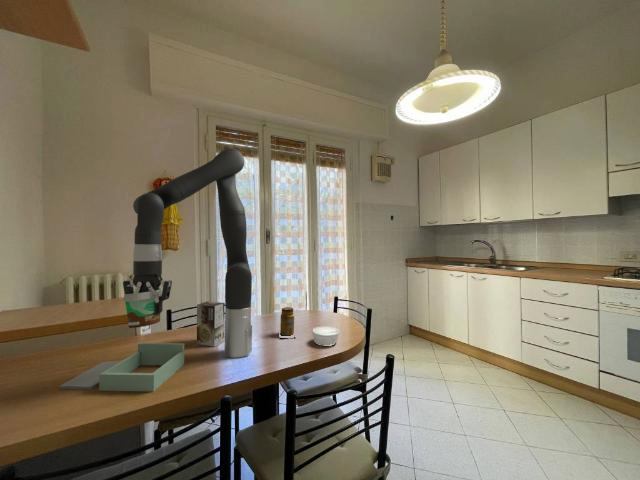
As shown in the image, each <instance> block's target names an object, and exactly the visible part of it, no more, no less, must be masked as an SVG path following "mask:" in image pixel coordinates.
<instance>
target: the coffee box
mask: <svg viewBox="0 0 640 480" xmlns="http://www.w3.org/2000/svg"><path fill="white" fill-rule="evenodd" d="M223 343H225V302H220V301H204V302H201V303H198V304H196V345H202V346H209V347H213V348H214V347H216V346H219V345H221V344H223Z"/></svg>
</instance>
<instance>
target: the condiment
mask: <svg viewBox="0 0 640 480" xmlns="http://www.w3.org/2000/svg"><path fill="white" fill-rule="evenodd" d="M279 324H280V326H279V328H280V332H279V333H280V335H281V336H291V335H293V334H295V314H294V307H287V306H285V307H283V308H281V314H280V323H279ZM278 339H279V340H281V339H280V338H279V337H278Z"/></svg>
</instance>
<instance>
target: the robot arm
mask: <svg viewBox="0 0 640 480" xmlns="http://www.w3.org/2000/svg"><path fill="white" fill-rule="evenodd" d="M244 166H245V158H244V156H243V154H242V153H241V151H239V150H238V149H236V148H233V147H231V148H229V147H228V148H225V149H223V150H221V151H220V152H218V153H217V154H216V155H215V156H214V157H213V159H211V160H210V161H208V162H206V163H205V164H203V165H201V166H199V167H197V168H195V169H193V170H190V171H188V172H186V173H184V174H182V175H181V174H180V175H179V176H177V177H175V178H173V179H171V180H169V181H167V182H165V183H164V184H162V185H160V187H157V188H155V189H153V190H150V191H149V192H146V193H143V194H141V195H139V196H138V197H137V198H135V199H134V201H133V204H132V205H133V211H134V212H135V213H136V214H137V222H136V224H137V225H136V227H135V229H134V246H133V251H132V252H133V255H132V257H133V258H132V259H133V263H132V268H133V269H132V271H133V272H132V275H133V279H132V280H131V279H127V280H124V281H123V282H122V287H123V292H124V294H135V293H143V292H150V291H152V293H153V294H154V295H155V296H156V298H154V300H155V302H156V303H155V315H159V314H160V315H161V314H162V312H163V302H164V301H166V300H169V299H170V295H171V290H172V285H173V280H171V279H169V280H167V279H163V278H162V274H163V249H162V226H163V220H164V214H165V210H166V209H167V208H169V207H171V206H172V205H175V204H178V203H181V202H182V201H184V200H186V199H188V198H190V197H192V196H193V195H195V194H197V193H198V192H200V191H201V190H202V189H204V188H205V187H207V186H209V185H210V184H212V183H213V182H215V183H216V189H217V200H218V209H219V221H220V222H219V223H220V229H221V230H220V231H221V236H222V239H223V244H224V247H225V251H226V273H225V278H224V279H225V281H224V283H225V284H224V303H225V314H224V348H223V349H224V356H225V357H227V358H233V359H235V358H236V359H237V358H243V357H249V355H250V353H251V352H252V350H253V346H252V345H253V342H252V341H253V325H252V294H253V293H252V291H253V290H252V288H253V287H252V285H253V284H252V283H253V279H252V278H253V274H252V271H251V268H250V265H249V259H248V254H247V238H248V237H247V229H248V227H247V216H246V210H245V207H244V205H243V202H242V200H241V198H240V196H239V193H238V189H237V185H236V181H237V180H236V175H237V174H239V173H240V172H241V171H242V170H243V168H244ZM134 286H135V289H134ZM160 286H161V287H162V288H161V289H160ZM155 290H159V292H155ZM161 290H162V292H161ZM161 293H162V294H161ZM158 294H160V297H158Z"/></svg>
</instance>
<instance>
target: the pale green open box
mask: <svg viewBox="0 0 640 480" xmlns="http://www.w3.org/2000/svg"><path fill="white" fill-rule="evenodd" d="M118 362H119V363H118V364H116V365H114V366H113V367H111V368H109V369H108V370H106V371H104V372H103V373H101V374H100V378H99V385H98V386H99V387H98V390H99V391H100V392H155V391H157V389H158V388H159V387H160V386H162V385H163V384H164V383H165V382H166V381H168V380H169V378H171V377H172V376H173V375H174V374H175V373H176V372H177V371H178V370H180V369H181V368H182V367H183V366H184V365H185V343H183V342H182V343H179V342H178V343H176V342H174V343H173V342H171V343H170V342H168V343H167V342H139V343H137V351H136V352H134V353H133V354H131V355H129V356H128V357H126V358H125V359H123V360H121V361H118ZM140 366H160V367H158V368H157V369H156V370H155V371H153V372H152V373H151V372H148V373H147V372H146V373H145V372H133V371H134V370H135V369H137V368H139V367H140Z"/></svg>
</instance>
